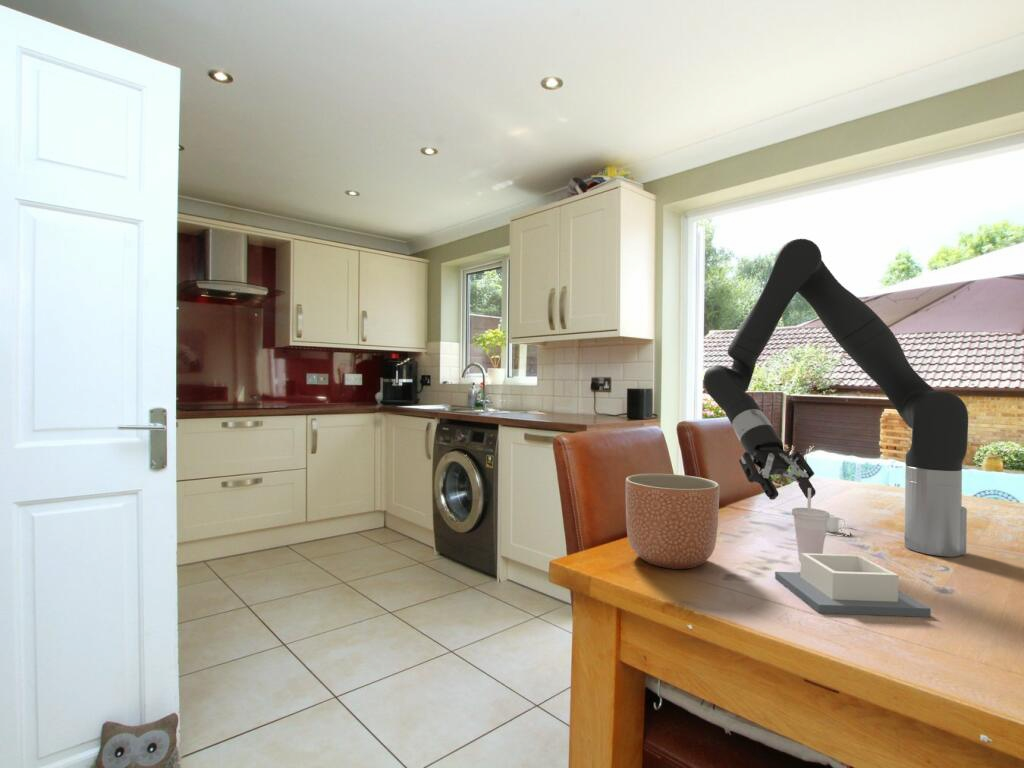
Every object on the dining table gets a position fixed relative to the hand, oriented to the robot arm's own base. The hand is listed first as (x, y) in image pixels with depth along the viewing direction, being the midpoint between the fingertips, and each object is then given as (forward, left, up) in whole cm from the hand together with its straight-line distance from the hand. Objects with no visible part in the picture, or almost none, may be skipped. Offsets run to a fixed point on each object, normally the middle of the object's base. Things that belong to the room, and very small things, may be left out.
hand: (793, 497), depth 106 cm
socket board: (+2, +21, -11) cm, 24 cm away
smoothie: (-1, +4, -12) cm, 12 cm away
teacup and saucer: (-17, -22, -12) cm, 30 cm away
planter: (+26, +6, -12) cm, 29 cm away
